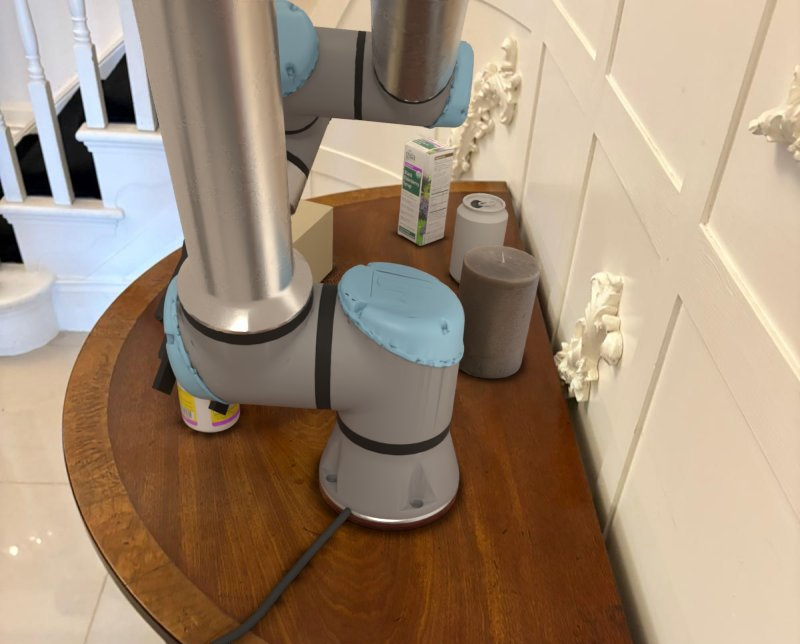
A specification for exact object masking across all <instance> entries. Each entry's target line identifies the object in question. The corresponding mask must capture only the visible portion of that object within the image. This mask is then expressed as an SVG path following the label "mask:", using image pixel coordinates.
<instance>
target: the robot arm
mask: <svg viewBox="0 0 800 644" xmlns="http://www.w3.org/2000/svg"><path fill="white" fill-rule="evenodd" d="M469 1H470V0H370V28H371V29H370V31H368V30H355V29H347V28H337V27H326V26H315V25H314V23H313V22H312V20H311V17H310V16H309V15H308V13H307V12H306V11H305V10H303V8H301V7H299V6H298V5H296V4H294V3H293V2H291V1H289V0H131V4H132V9H133V13H134V18H135V23H136V28H137V31H138V36H139V40H140V45H141V49H142V54H143V57H144V58H143V59H144V63H145V68H146V72H147V77H148V81H149V85H150V90H151V94H152V98H153V104H154V108H155V112H156V117H157V121H158V126H159V131H160V136H161V140H162V143H163V148H164V154H165V158H166V162H167V167H168V171H169V176H170V180H171V185H172V190H173V194H174V199H175V203H176V207H177V212H178V217H179V221H180V225H181V231H182V235H183V241H182V247H181V255H180V258H179V260H178V262H177V264H176V267H175V269H174V270H173V273H172V275H171V277H170V279H169V282H168V284H167V286H166V288H165V290H164V292H163V295H162V297H161V299H160V301H159V303H158V305H157V307H156V309H155V311H154V319H155V320H156V321H158V322H159V323H160V324H161V325H162V326H163V332H164V337H163V339H162V341H161V345H160V348H159V350H158V353H157V355H158V356H157V358H158V359H159V360H161V361H160V364H159V366H158V369H157V372H156V375H155V377H154V381H153V382H152V385H151V389H154V390H156V391H157V392H160V393H163V394H165V395H168V396H171V395H172V392H173V389H174V387H175V384H176V383H177V381H176V379H177V380H178V382H179V383H180V385H181V386H182V388H183V389H184V390H185V391H186V392H188V393H189V394H190V395H192V396H194V397H196V398H199V399H205V400H211V402H210V404H209V407H208V409H210V410H213V411H215V412H217V413H219V414H222V415H225V416H226V413H227V410H228V408H229V405H230V404H231V405H232V404H239V405H248V406H249V405H251V406H267V407H280V408H296V409H308V410H311V409H312V410H325V411H334V412H335V411H336V421H335V423H334V426H333V429H332V431H331V432H330V436H329V438H328V440H327V442H326V445H325V447H324V450H323V452H322V453H321V457H320V461H319V465H318V488H319V490H320V494H321V496H322V498H323V499H324V501H325V503H327V505H328V506H329V507H330V508H331V509H332V510H333V511H334V512H335V513H336V514H338V516H337V517H335V519H334V520H333V521H332V522H331V523H330V524H329V525H328V526H327V527H326V528H325V530H324V531H323V532H322V533H321V534H320V535H319V536H318V537H317V539H315V541H314V542H313V543H312V544H311V545H310V546H309V548H308V549H307V550H306V551H305V552H304V553H303V554H302V555H301V556H300V557H299V559H298V560H297V561H296V562H295V564H294V565H292V566H291V568H290V569H289V570H288V572H287V573H286V574H285V575H284V576H283V577H282V579H280V581H279V582H278V583H277V584H276V585H275V587H273V589H272V590H271V592H269V594H268V596H267V597H266V598H265V599H264V600H263V602H262V603H261V604H260V605H259V607H258V608H257V609H256V610H255V611H254V612H253V613H252V615H250V616H249V617H248V618H247V619H246V620H245V621H244V622H243V623H242V624H240V625H239V626H237V627H236V628H235V629H233V630H231V631H229V632H228V633H226V634H224V635H222V636H220V637H217V638H216V639H214V640H212V641H210V642H208V643H207V644H232V643H234V642H235V641H237V640H238V639H240V638H242V637H243V636H244V635H246V634H247V633H248V632H249V631H251V630H252V629H253V628H254V627H255V626H256V625H257V624H258V623H259V622H260V621H261V620H262V619H263V618H264V617H265V616H266V614H267V613H268V612H269V611H270V610H271V608H273V606H274V604H275V603H276V602H277V601H278V599H279V598H280V597H281V595H282V594H283V593H284V592H285V590H286V589H287V588H288V587H289V586H290V584H291V583H292V582H294V580H295V579H296V578H297V576H298V575H299V574H300V573H301V571H302V570H303V569H304V568H305V567H306V565H307V564H308V563H309V562H310V561H311V560H312V559H313V557H314V556H315V555H316V554H317V553H318V552H319V551H320V549H321V548H322V547H323V546H324V545H325V543H327V542H328V541H329V539H331V537H332V536H333V535H334V534H335V532H336V531H337V530H338V529H339V528H340V527H341V526H342V525H343V524H344V523H345V522H346V520H347V521H349V522H352V523H354V524H357V525H359V526H362V527H365V528H369V529H373V530H374V529H375V530H382V531H405V530H412V529H413V530H414V529H417V528H420V527H421V528H422V527H424V526H427V525H429V524H431V523H433V522H435V521H437V520H438V519H440V518H441V517H443V516H444V515H445V514H447V512H448V511H449V510H450V509H451V508H452V507H453V505H454V503H455V501H456V499H457V496H458V492H459V484H460V469H459V463H458V458H457V455H456V450H455V447H454V443H453V440H452V439H453V438H452V434H451V425H452V417H453V412H454V411H453V410H454V403H455V396H456V390H457V389H456V388H457V381H458V374H459V361H460V360H461V358H462V357H463V353H464V344H463V333H464V322H465V318H464V311H463V307H462V305H461V303H460V301H459V299H458V295H456V294H455V292H454V291H453V290H452V289H451V288H450V287H449V286H448V285H446V284H444V282H442V281H441V280H440V279H439V278H437V277H436V276H433V275H432V274H430V273H428V272H425V271H423V270H421V269H418V268H416V267H411V266H408V265H404V264H401V263H393V262H386V261H385V262H384V261H373V262H372V261H371V262H368V263H367V265H364V264H357V265H355V266H353V267H350V268H349V269H348V270H346V271H345V272H344V273H343V275H342V277H341V279H340V280H339V281H338V284H332V283H321V282H320V283H313V277H312V273H311V270H310V267H309V265H308V263H307V261H306V260H305V258H304V257H303V256H302V255H301V254H300V253H299V252H298V251H297V250H296V249H295V248H293V241H292V227H291V224H292V221H291V216H292V215H294V214H295V212H296V209H297V207H298V204H299V201H300V199H301V200H302V195H303V193H304V190H305V188H306V186H307V183H308V180H309V176H310V174H311V171H312V168H313V165H314V163H315V161H316V157H317V155H318V153H319V149H320V147H321V145H322V141H323V140H324V137H325V134H326V131H327V129H328V126H329V125H330V121H332V120H333V119H339V120H347V121H348V120H350V121H362V122H372V123H383V124H391V125H394V124H395V125H402V126H410V127H419V128H420V127H421V128H422V127H423V128H425V129H428V130H431V129H435V128H449V129H450V128H452V129H455V128H459V127H461V126H462V125H463V124H464V123H465V122H466V120H467V118H468V114H469V108H470V103H471V97H472V96H471V95H472V87H473V79H474V65H475V52H474V49H473V46H472V45H471V43H469V42H467V41H466V40H461V39H462V34H463V30H464V26H465V21H466V17H467V11H468V8H469V7H468V6H469Z"/></svg>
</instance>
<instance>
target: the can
mask: <svg viewBox="0 0 800 644" xmlns="http://www.w3.org/2000/svg"><path fill="white" fill-rule="evenodd" d="M506 206H507V205H506V202H505V200H503V199H502V198H500V197H499V196H497V195H494V194H490V193H484V192H483V193H482V192H477V193H470V194H467V195H465V196H464V197H463V198H462V203H461V204H459V205H458V207H457V208H456V214H455V223H454V230H453V238H452V247H451V255H450V264H449V274H450V275H451V277H452V278H453V279H454V280H455V281H456V282H457V283H458V284H460V278H461V272H462V266H463V259H464V256H465V254H466V252H467V251H469V250H471V249H473V248H476V247H480V246H491V245H500V246H504V243H505V237H506V231H507V226H508V220H509V213H508V211H507V209H506Z"/></svg>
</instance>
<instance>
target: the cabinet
mask: <svg viewBox="0 0 800 644" xmlns="http://www.w3.org/2000/svg"><path fill="white" fill-rule="evenodd" d="M291 221H292V224H291V227H292V241H293V248H295V249H296V250H297V251H298V252H299V253H300V254H301V255H302V256H303V257H304V258H305V260H306V261H307V263H308V265H309V267H310V270H311V273H312V277H313V283H321V282H322V281H323V280H324V279H325V278H326V277H327V276H328V274H330V272H332V270H333V261H334V260H333V259H334V258H333V253H334V251H333V250H334V206H331V205H328V204H322V203H318V202H314V201H310V200H305V199H302V198H301V199H300V201H299V204H298V207H297V209H296V212H295V214H294V215H292V216H291Z"/></svg>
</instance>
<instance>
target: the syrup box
mask: <svg viewBox="0 0 800 644" xmlns="http://www.w3.org/2000/svg"><path fill="white" fill-rule="evenodd" d="M455 149H456V148H455V147H453V146H450V145H447V144H445V143H443V142H440V141H439V140H436V139H434V138H433V137H430V136H428V137H419V138H414V139H411V140H409V141H407V142H405V144H404V154H403V165H402V177H401V189H400V203H399V215H398V223H397V235H398V236H402V237H403V238H406V239H407V240H409V241H411V242H412V243H414V244H416V245H418V246H419V247H422V246H425V245H427V244H430V243H433V242H436V241H438V240H441V239H443V238H444V236H445V229H446V222H447V221H446V220H447V213H448V206H449V205H448V204H449V197H450V188H451V182H452V173H453V166H454V158H455Z"/></svg>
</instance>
